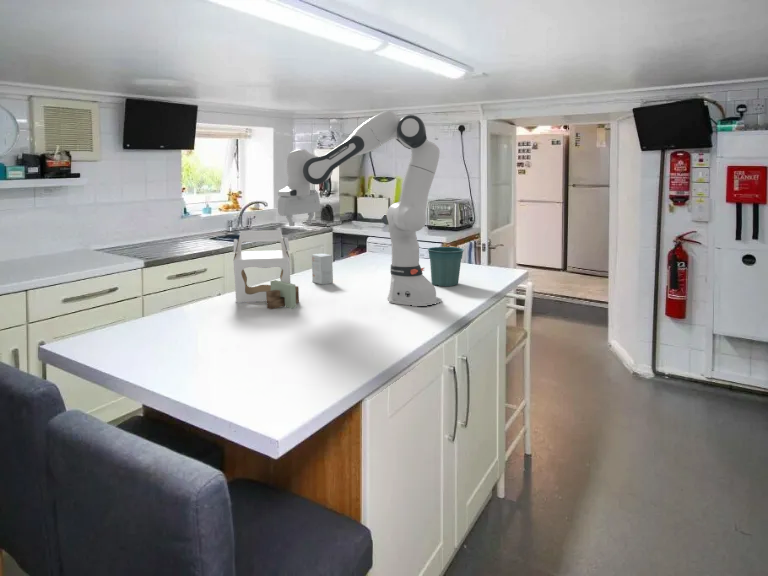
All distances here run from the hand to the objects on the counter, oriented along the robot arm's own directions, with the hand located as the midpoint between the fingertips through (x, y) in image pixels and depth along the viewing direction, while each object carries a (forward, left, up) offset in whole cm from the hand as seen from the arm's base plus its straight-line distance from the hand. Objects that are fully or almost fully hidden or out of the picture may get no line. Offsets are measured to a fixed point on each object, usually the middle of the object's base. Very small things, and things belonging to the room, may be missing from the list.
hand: (300, 225), depth 237 cm
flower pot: (-33, -57, -30) cm, 72 cm away
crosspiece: (-7, +16, -30) cm, 34 cm away
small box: (+12, -23, -30) cm, 39 cm away
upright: (-7, +16, -30) cm, 34 cm away
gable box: (+9, +13, -30) cm, 34 cm away
